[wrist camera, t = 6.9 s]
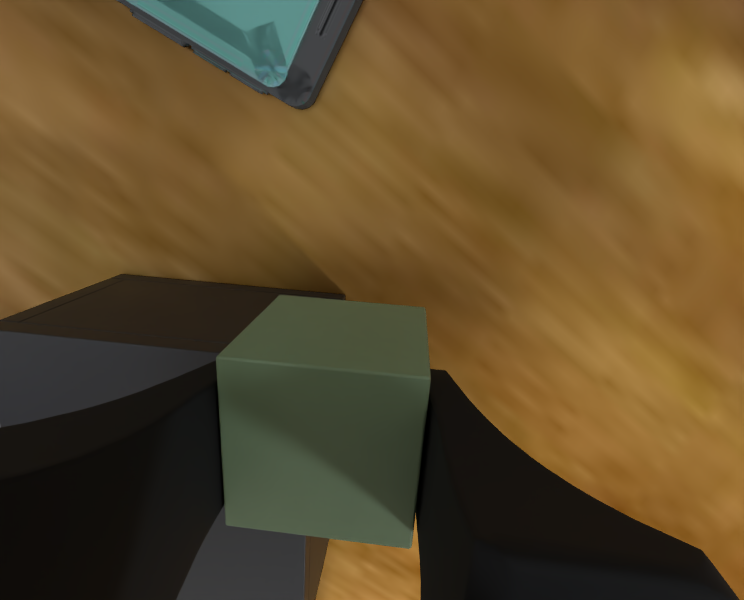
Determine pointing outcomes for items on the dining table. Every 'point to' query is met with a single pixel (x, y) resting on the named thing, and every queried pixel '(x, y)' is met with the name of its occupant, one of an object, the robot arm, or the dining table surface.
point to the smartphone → (258, 39)
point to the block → (325, 419)
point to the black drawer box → (141, 371)
